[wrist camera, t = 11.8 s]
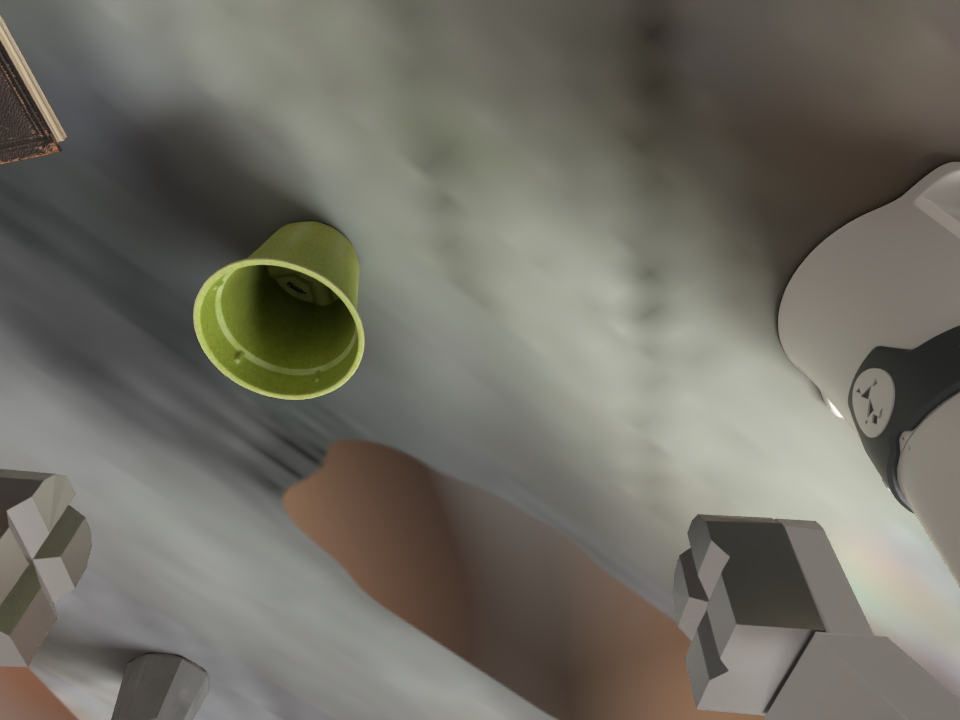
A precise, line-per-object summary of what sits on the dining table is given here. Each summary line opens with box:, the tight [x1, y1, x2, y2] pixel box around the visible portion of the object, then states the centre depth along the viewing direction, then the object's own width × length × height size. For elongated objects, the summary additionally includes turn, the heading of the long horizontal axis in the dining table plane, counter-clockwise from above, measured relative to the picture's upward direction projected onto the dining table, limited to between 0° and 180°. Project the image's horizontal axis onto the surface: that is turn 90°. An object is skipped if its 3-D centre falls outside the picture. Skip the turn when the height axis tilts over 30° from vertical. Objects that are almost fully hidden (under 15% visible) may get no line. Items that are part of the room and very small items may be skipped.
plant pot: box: [193, 221, 365, 400], centre depth 42 cm, size 9×9×9 cm
